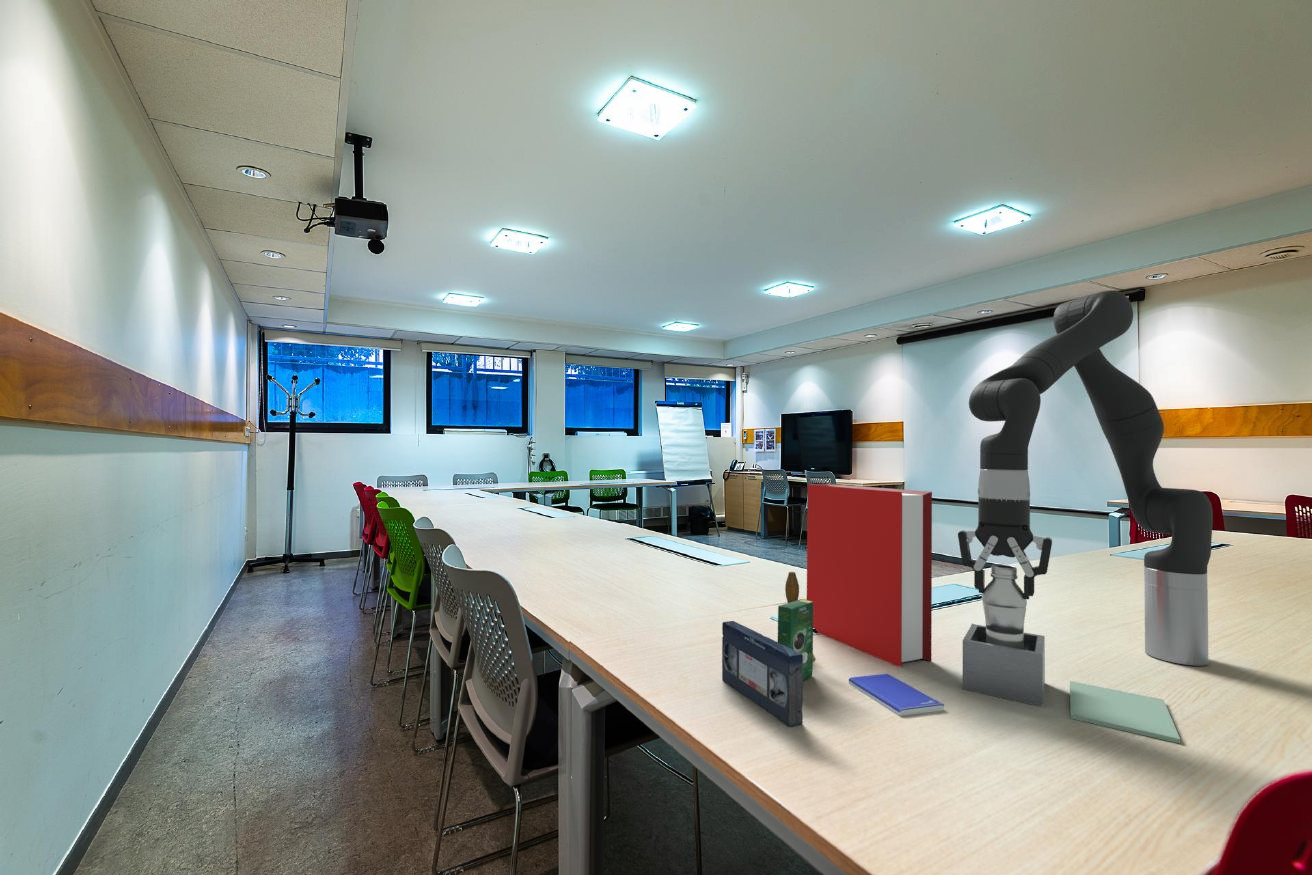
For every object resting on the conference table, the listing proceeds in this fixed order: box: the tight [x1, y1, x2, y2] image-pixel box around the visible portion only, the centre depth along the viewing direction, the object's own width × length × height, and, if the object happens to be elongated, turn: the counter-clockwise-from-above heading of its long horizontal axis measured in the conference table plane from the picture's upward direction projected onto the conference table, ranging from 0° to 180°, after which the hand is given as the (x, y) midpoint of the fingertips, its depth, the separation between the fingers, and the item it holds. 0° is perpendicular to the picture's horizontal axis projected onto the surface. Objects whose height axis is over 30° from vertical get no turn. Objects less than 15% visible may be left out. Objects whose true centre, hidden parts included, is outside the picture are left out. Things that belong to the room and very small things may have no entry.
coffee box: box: [777, 598, 814, 681], centre depth 97 cm, size 8×3×13 cm, turn 137°
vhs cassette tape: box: [721, 620, 804, 728], centre depth 88 cm, size 18×3×10 cm, turn 23°
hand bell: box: [784, 571, 816, 661], centre depth 109 cm, size 8×8×16 cm
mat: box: [1069, 680, 1181, 744], centre depth 87 cm, size 16×12×1 cm
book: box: [806, 483, 933, 668], centre depth 118 cm, size 27×8×32 cm, turn 25°
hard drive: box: [848, 673, 945, 717], centre depth 91 cm, size 2×8×12 cm
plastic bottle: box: [981, 564, 1028, 650], centre depth 96 cm, size 6×7×20 cm
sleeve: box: [962, 623, 1046, 708], centre depth 96 cm, size 12×11×8 cm
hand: (1003, 594), depth 96 cm, fingers closed on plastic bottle, 6 cm apart
